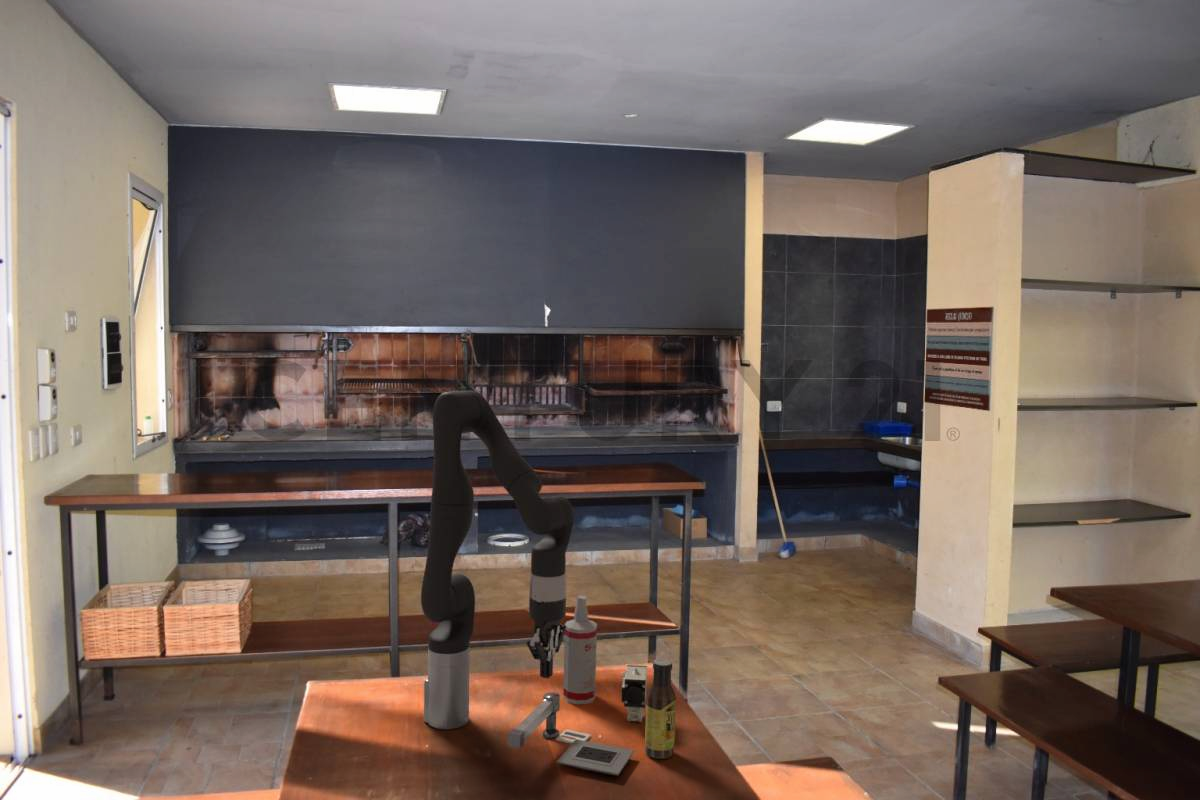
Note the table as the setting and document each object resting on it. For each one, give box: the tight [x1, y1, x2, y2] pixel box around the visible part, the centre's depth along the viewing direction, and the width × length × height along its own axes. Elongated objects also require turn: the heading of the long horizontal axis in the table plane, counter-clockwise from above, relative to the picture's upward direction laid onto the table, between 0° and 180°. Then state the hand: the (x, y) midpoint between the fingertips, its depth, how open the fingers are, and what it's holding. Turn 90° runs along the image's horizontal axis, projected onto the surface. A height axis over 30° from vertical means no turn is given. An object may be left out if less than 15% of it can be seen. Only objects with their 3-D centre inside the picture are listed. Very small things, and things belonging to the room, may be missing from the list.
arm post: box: [542, 712, 560, 740], centre depth 197 cm, size 4×4×6 cm
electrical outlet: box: [556, 739, 635, 777], centre depth 185 cm, size 13×10×2 cm
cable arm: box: [507, 692, 561, 750], centre depth 188 cm, size 21×4×3 cm, turn 161°
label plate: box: [555, 728, 592, 745], centre depth 196 cm, size 6×5×1 cm
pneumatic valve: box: [621, 664, 648, 723], centre depth 206 cm, size 6×12×12 cm, turn 176°
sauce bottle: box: [644, 658, 677, 760], centre depth 189 cm, size 6×6×20 cm
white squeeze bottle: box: [562, 595, 598, 705], centre depth 216 cm, size 8×8×25 cm
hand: (546, 676), depth 184 cm, fingers closed
